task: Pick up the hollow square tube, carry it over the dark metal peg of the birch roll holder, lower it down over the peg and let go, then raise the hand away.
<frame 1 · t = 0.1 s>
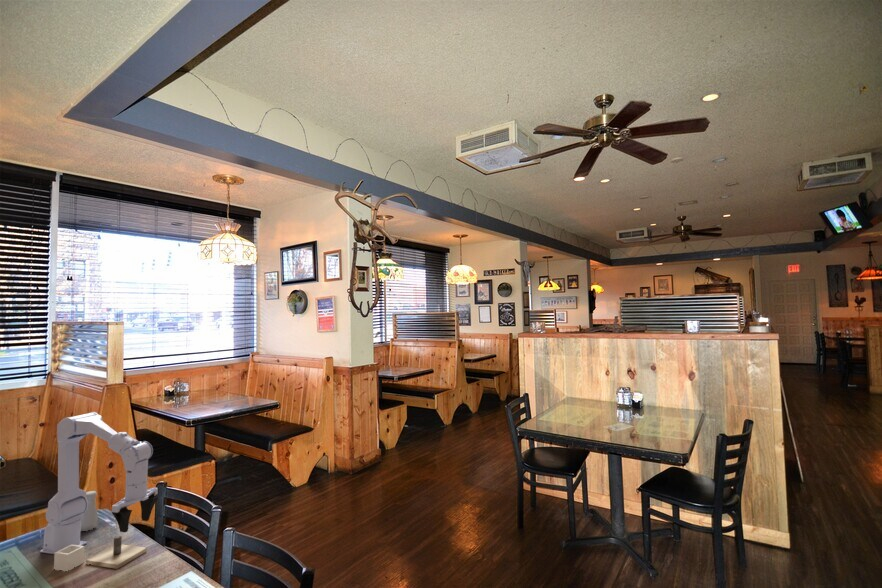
hand: (134, 525, 138), 10 cm above the table, tool pointing down, fingers open, 7 cm apart
roll holder: (117, 557, 138), on the table
salt shaker: (87, 529, 156), on the table
hollow square tube: (69, 566, 133), on the table
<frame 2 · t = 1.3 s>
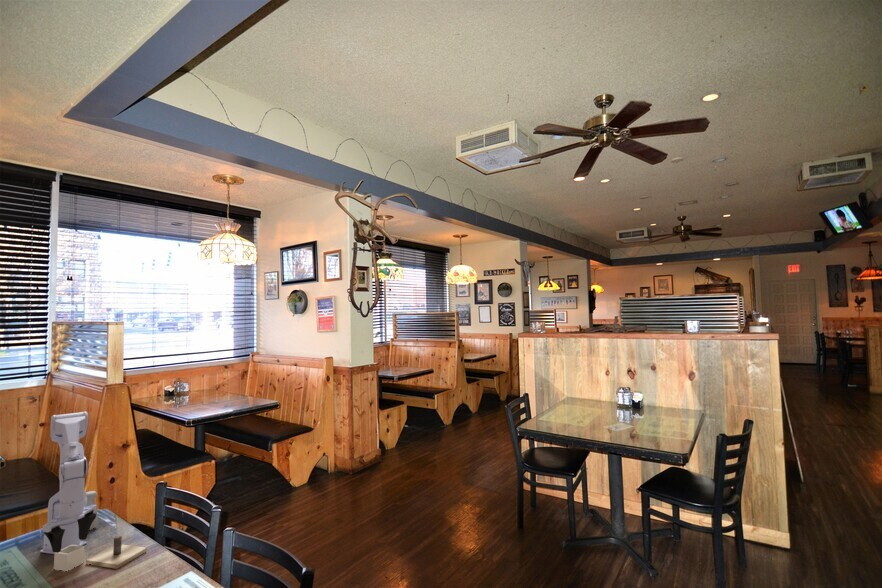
hand: (70, 545, 133), 6 cm above the table, tool pointing down, fingers open, 7 cm apart
nothing on the table moved.
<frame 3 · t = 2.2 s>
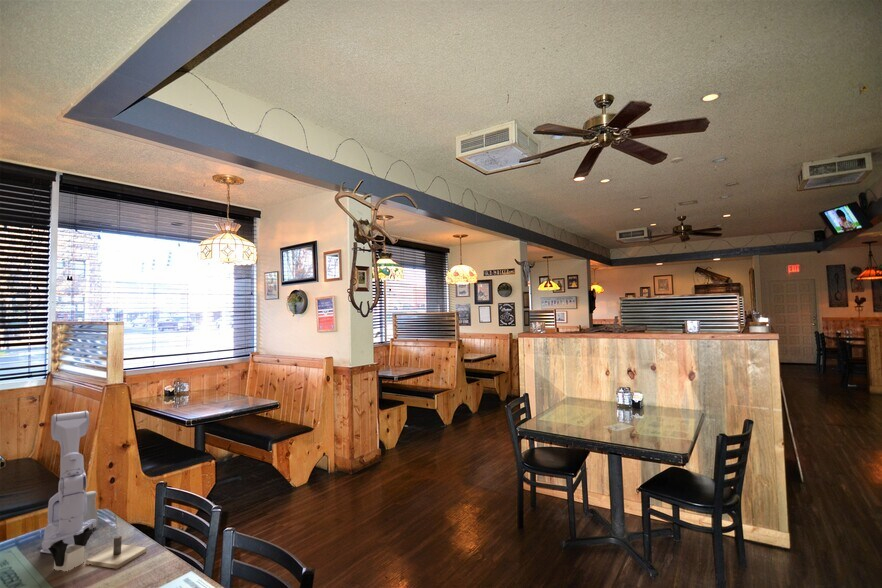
hand: (69, 560, 133), 2 cm above the table, tool pointing down, fingers closed on hollow square tube, 5 cm apart
hollow square tube: (69, 566, 133), on the table, touching gripper
everything else where it was.
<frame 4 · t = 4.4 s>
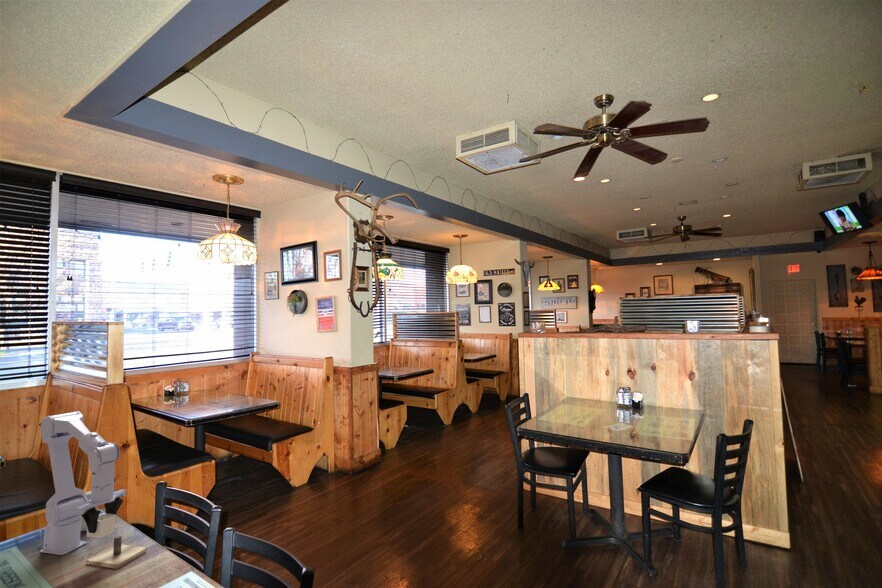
hand: (101, 528, 136), 10 cm above the table, tool pointing down, fingers closed on hollow square tube, 5 cm apart
hollow square tube: (101, 533, 136), point 8 cm above the table, touching gripper
everything else where it was.
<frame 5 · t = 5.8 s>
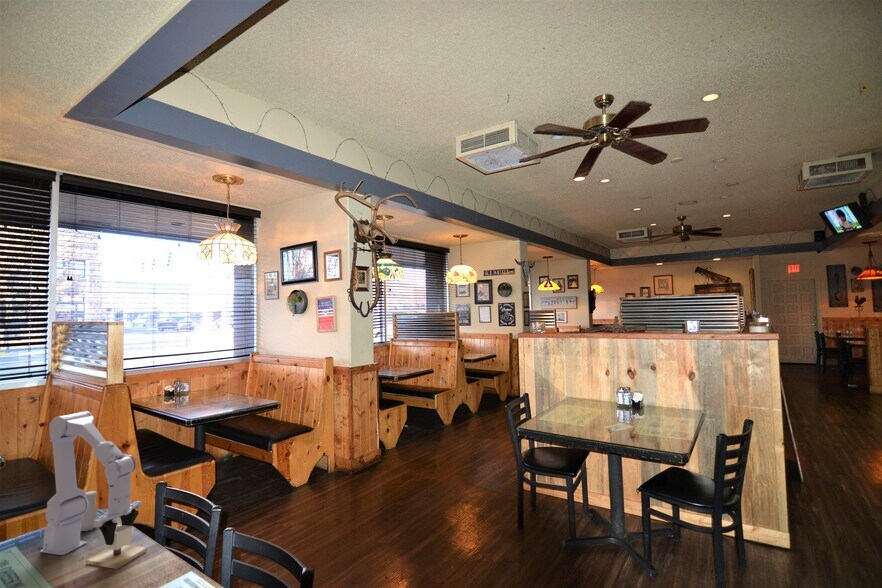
hand: (117, 539, 138), 5 cm above the table, tool pointing down, fingers closed on hollow square tube, 5 cm apart
hollow square tube: (117, 545, 138), point 4 cm above the table, touching gripper
everything else where it was.
when the fingers open (4 cm above the table, at t = 6.7 s): hollow square tube drops 1 cm, resting on roll holder.
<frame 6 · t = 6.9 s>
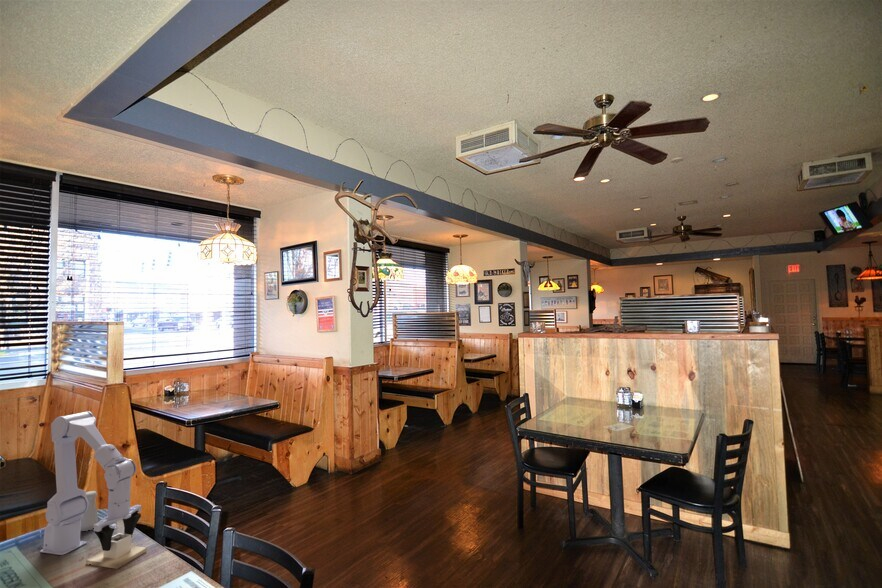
hand: (117, 544, 138), 4 cm above the table, tool pointing down, fingers open, 7 cm apart
hollow square tube: (117, 553, 138), point 1 cm above the table, touching roll holder
everything else where it was.
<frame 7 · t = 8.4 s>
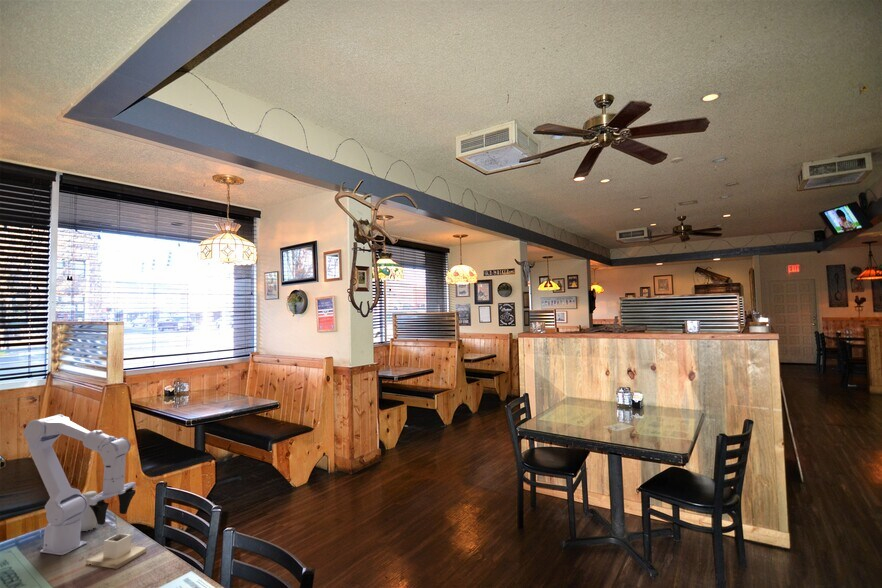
hand: (112, 518, 143), 10 cm above the table, tool pointing down, fingers open, 7 cm apart
nothing on the table moved.
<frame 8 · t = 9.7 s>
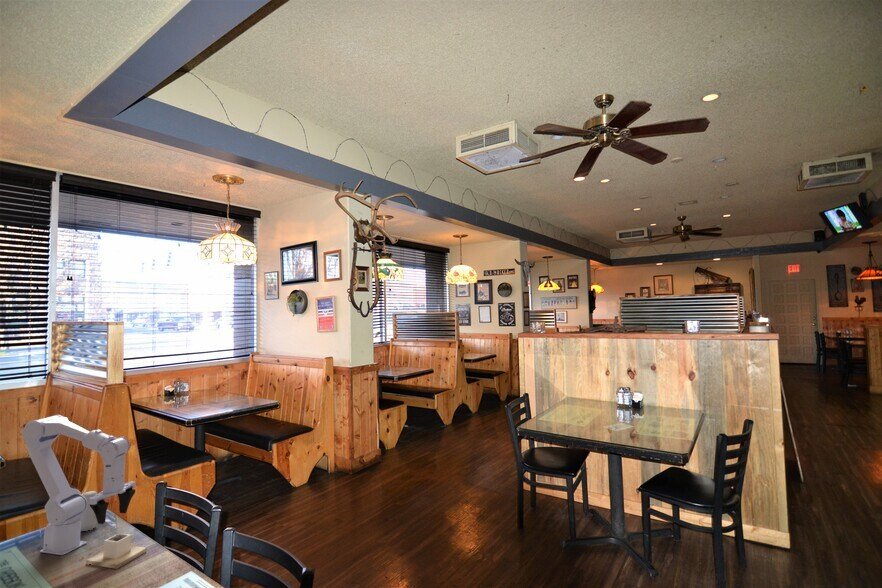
hand: (112, 517, 144), 10 cm above the table, tool pointing down, fingers open, 7 cm apart
nothing on the table moved.
at the end: hollow square tube 0.1 cm off-centre on the roll holder, point 1.2 cm above the roll holder's base; hollow square tube tilted 0°; the gripper is holding nothing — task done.
